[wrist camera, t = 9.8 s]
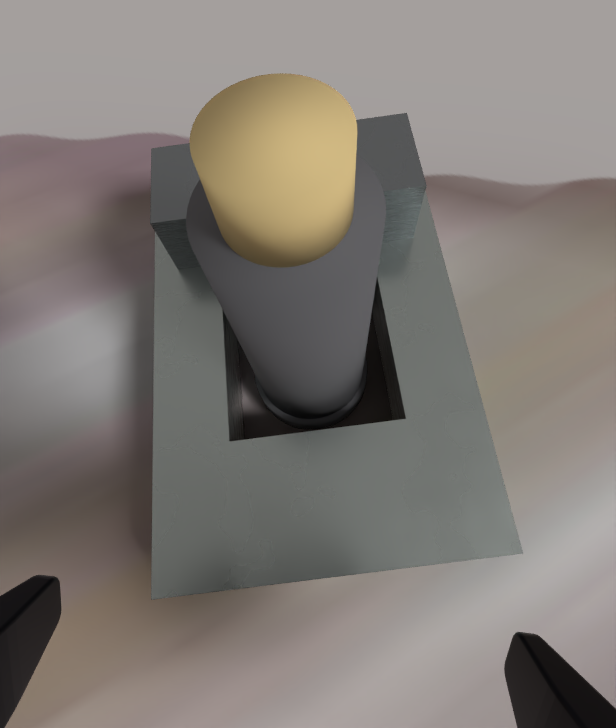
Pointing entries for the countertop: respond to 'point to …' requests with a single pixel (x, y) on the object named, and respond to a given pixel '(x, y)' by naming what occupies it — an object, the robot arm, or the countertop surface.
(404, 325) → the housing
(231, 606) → the countertop surface
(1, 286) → the countertop surface
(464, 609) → the countertop surface
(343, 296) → the plug
